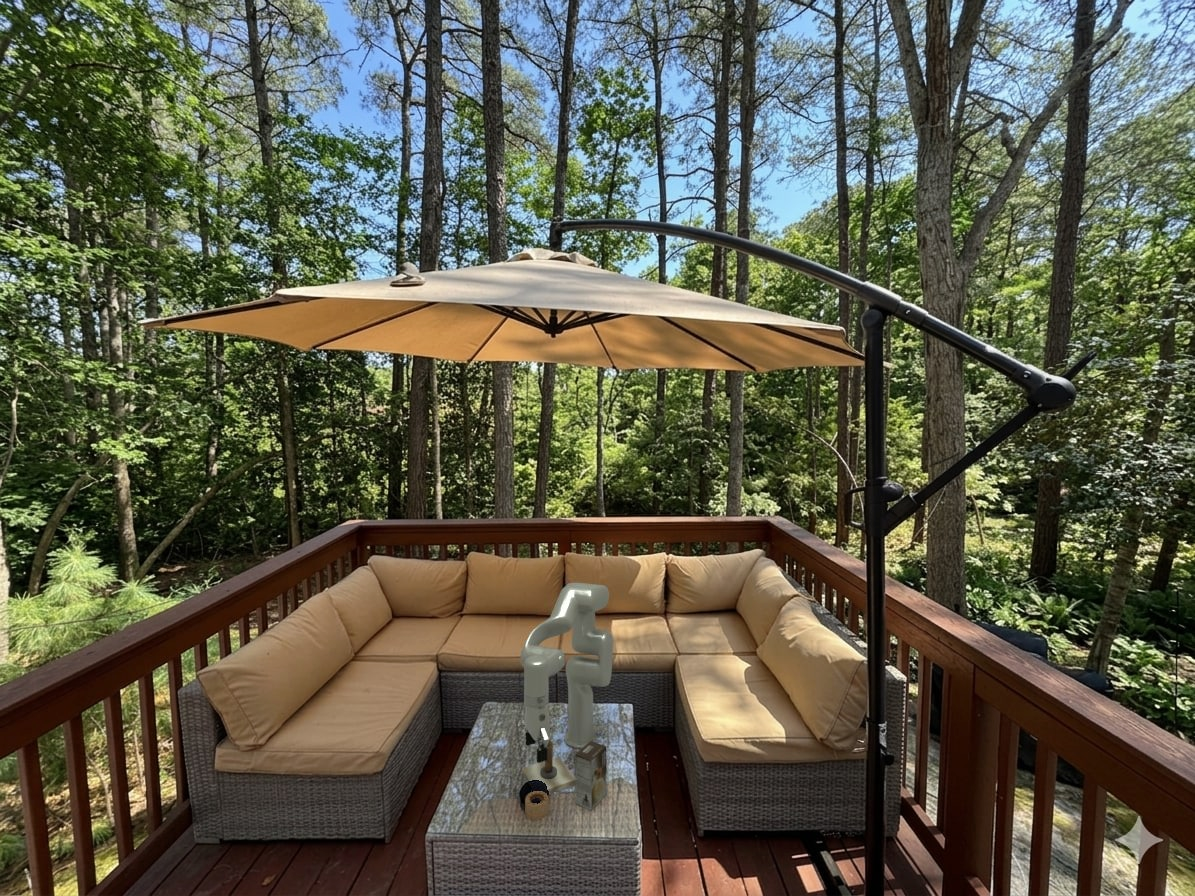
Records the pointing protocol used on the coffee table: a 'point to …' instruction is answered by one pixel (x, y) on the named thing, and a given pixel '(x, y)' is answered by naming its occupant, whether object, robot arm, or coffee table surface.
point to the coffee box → (591, 775)
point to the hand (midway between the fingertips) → (536, 752)
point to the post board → (554, 782)
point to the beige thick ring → (536, 805)
